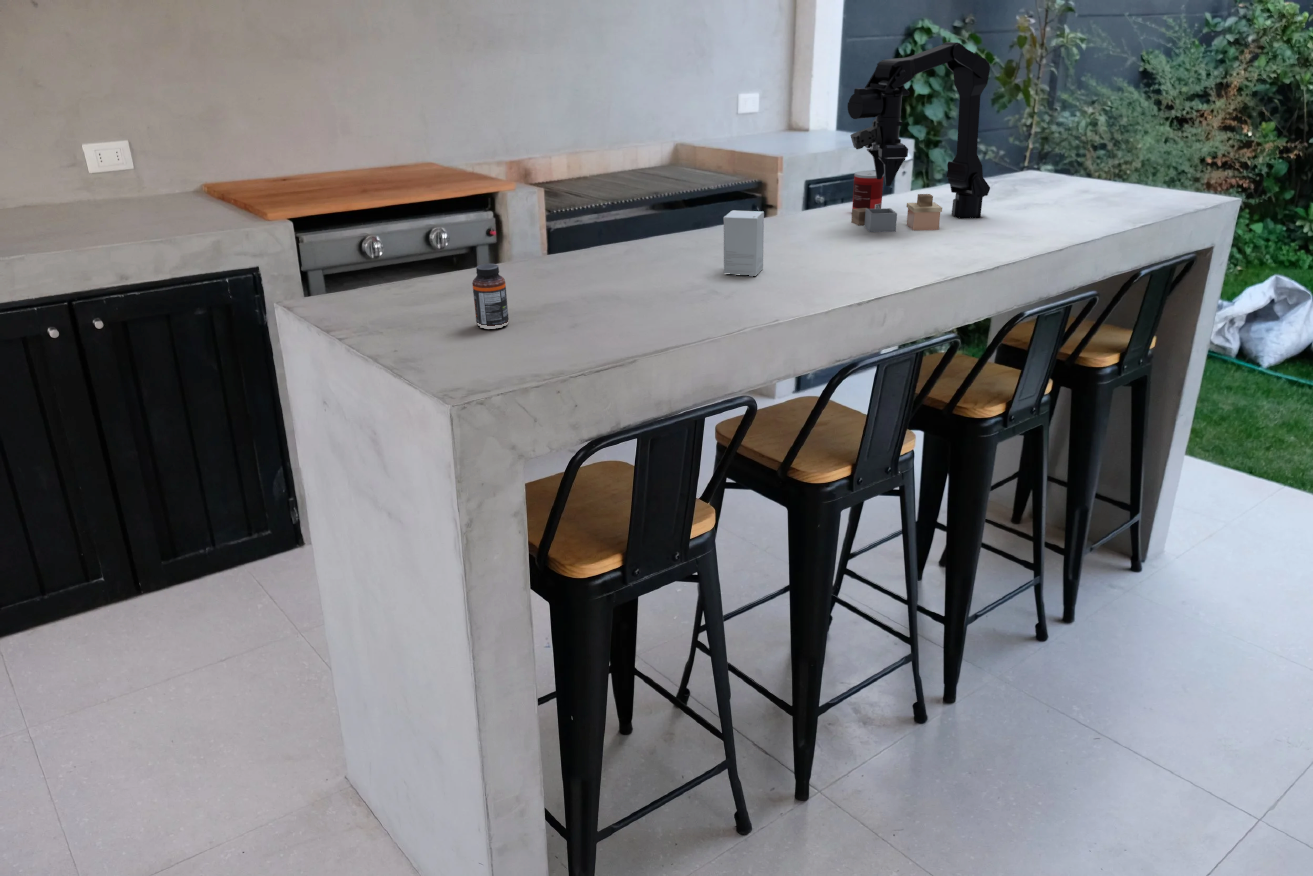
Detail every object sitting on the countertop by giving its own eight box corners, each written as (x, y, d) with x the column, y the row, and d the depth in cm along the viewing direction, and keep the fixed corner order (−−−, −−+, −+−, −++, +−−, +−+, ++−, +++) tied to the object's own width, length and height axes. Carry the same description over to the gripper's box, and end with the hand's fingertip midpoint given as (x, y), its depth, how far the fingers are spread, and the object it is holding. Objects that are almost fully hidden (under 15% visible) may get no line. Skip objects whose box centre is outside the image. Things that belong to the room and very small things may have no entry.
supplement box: (764, 268, 217) (765, 210, 211) (755, 277, 210) (757, 217, 205) (731, 266, 219) (732, 209, 214) (722, 275, 212) (722, 216, 207)
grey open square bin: (889, 228, 251) (890, 208, 249) (895, 233, 245) (897, 213, 243) (864, 228, 251) (865, 208, 249) (869, 234, 245) (871, 214, 243)
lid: (934, 206, 250) (935, 192, 249) (942, 211, 244) (943, 197, 242) (906, 206, 250) (907, 192, 249) (913, 212, 244) (915, 198, 242)
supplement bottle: (477, 321, 185) (472, 262, 181) (509, 320, 186) (504, 261, 181) (475, 331, 180) (469, 270, 175) (508, 330, 180) (503, 269, 176)
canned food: (879, 211, 269) (882, 170, 265) (882, 217, 262) (885, 175, 258) (850, 211, 270) (853, 170, 266) (853, 217, 263) (855, 175, 258)
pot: (931, 226, 252) (933, 206, 250) (938, 231, 246) (940, 211, 244) (906, 226, 252) (908, 207, 250) (912, 232, 246) (914, 212, 244)
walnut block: (865, 223, 256) (866, 207, 255) (872, 226, 253) (873, 210, 251) (851, 224, 255) (852, 208, 254) (858, 227, 252) (859, 211, 250)
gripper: (846, 112, 245) (843, 176, 251) (863, 121, 228) (858, 190, 234) (891, 111, 245) (886, 175, 252) (911, 120, 228) (905, 189, 234)
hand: (883, 182), depth 243 cm, fingers open, 9 cm apart
